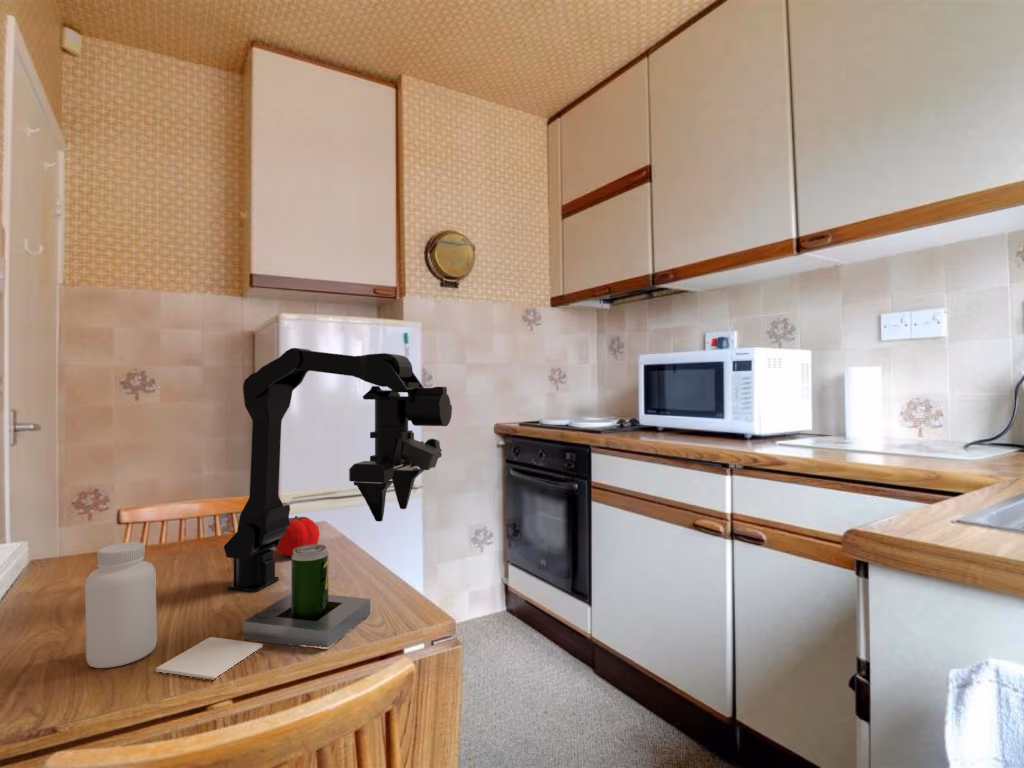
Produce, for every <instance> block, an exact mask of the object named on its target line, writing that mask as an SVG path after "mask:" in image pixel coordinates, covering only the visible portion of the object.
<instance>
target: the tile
mask: <svg viewBox="0 0 1024 768" xmlns="http://www.w3.org/2000/svg"><path fill="white" fill-rule="evenodd" d="M262 647H264V644H263V643H257V642H251V641H243V640H236V639H228V638H221V637H213V636H209V637H208V638H206V639H204V640H202V641H201V642H198V643H197V644H196V645H193V646H192V647H190V648H188V649H187V650H185V651H183V652H181V653H180V654H178V655H175V656H174V657H172V658H171V659H169V660H168V661H166V662H163V663H162V664H160V665H158V666H157V667H156V668H155V673H159V672H162V673H161V674H166V673H171V674H170V675H172V673H173V674H180V675H186V676H194V677H203V678H211V679H214V678H216V677H217V676H219V675H220V674H222V673H223V672H225V671H227V670H228V669H229V668H231V667H233V666H234V665H235V664H237V663H238V662H240V661H241V660H243V659H244V658H246V657H247V656H249V655H250V654H252V653H253V652H255V651H257V650H258V649H260V648H261V649H263V648H262ZM261 649H260V650H261ZM258 651H259V650H258ZM258 651H257V652H258ZM255 653H256V652H255ZM252 655H253V654H252ZM249 657H250V656H249ZM233 668H234V667H233ZM227 672H228V671H227Z"/></svg>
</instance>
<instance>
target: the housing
mask: <svg viewBox="0 0 1024 768" xmlns="http://www.w3.org/2000/svg"><path fill="white" fill-rule="evenodd" d="M369 615H370V616H371V598H365V597H364V598H363V597H355V596H345V595H344V596H343V595H336V594H335V595H334V594H328V614H326V615H325V616H324V617H322V618H321V619H319V620H318V621H308V620H299V619H292V613H291V593H289V594H288V595H286V596H285V597H283V598H281V599H280V600H278V601H276V602H274V603H272V604H271V605H269V606H267V607H266V608H264V609H263V610H261V611H259V612H257V613H255V614H254V615H252V616H250V617H249V618H247V619H245V620H244V621H243V640H248V641H254V640H257V641H256V642H264V643H271V644H278V643H279V645H285V644H292V645H291V646H293V645H306V646H317V647H319V646H321V647H329V646H331V645H332V644H333V643H335V642H336V641H338V640H339V639H340V638H341V637H343V636H344V635H345V634H346V633H348V632H349V631H350V630H351V629H353V628H354V627H355V626H356V627H358V626H359V625H360V624H361V623H362V622H361V621H363V620H364V619H365V618H366V619H367V618H369V617H370V616H369ZM368 616H369V617H368ZM366 619H365V620H366ZM365 620H364V621H365ZM364 621H363V622H364ZM360 622H361V623H360ZM359 623H360V624H359ZM358 624H359V625H358ZM357 625H358V626H357ZM356 627H355V628H356ZM355 628H354V629H355ZM354 629H353V630H354ZM350 632H351V631H350ZM350 632H349V633H350ZM349 633H348V634H349ZM344 637H345V636H344ZM344 637H343V638H344ZM338 642H339V641H338Z"/></svg>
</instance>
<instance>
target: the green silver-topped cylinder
mask: <svg viewBox="0 0 1024 768" xmlns="http://www.w3.org/2000/svg"><path fill="white" fill-rule="evenodd" d="M327 549H328V547H327V545H324V544H318V543H317V544H311V545H304V546H300V547H297V548H295V549H294V550H293V555H292V557H291V556H290V558H291V560H290V561H291V562H290V563H291V564H290V565H291V570H290V571H291V572H290V573H291V583H290V584H291V585H290V586H291V591H290V592H291V593H290V594H291V613H292V619H299V620H308V621H318V620H319V619H321V618H322V617H324V616H325V615H326V614H328V595H329V552H328V550H327Z"/></svg>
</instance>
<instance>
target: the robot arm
mask: <svg viewBox="0 0 1024 768" xmlns="http://www.w3.org/2000/svg"><path fill="white" fill-rule="evenodd" d="M309 371H310V372H318V373H326V374H333V375H341V376H348V377H355V378H357V379H359V380H362V381H364V382H366V383H370V384H372V385H373V386H371V387H370V389H369V390H368V391H367V392H366V393H365V394H363V396H362V399H363V400H370V401H371V400H374V431H370V432H369V438H370V439H374V455H370V456H369V460H362V461H360V462H356V463H353V464H352V465H351V467H350V468H349V469H348V480H349V482H353V485H354V486H356V487H357V488H358V490H359V492H360V493H361V495H362V497H363V499H364V501H365V502H366V504H367V506H368V508H369V510H370V512H371V514H372V516H373V519H374V521H376V522H382V521H383V520H384V514H385V505H386V498H387V490H388V489H389V488H390V486H392V485H393V489H394V492H395V493H394V494H395V496H396V500H397V503H398V505H399V509H400V510H406V509H407V507H408V504H409V500H410V497H411V494H412V490H413V488H414V487H413V486H414V484H415V480H416V478H417V477H419V476H420V475H421V474H422V473H424V471H429V470H431V469H435V468H436V466H437V463H438V460H439V459H440V458H441V457H442V455H443V454H442V448H441V445H440V440H438V439H435V438H429V439H427V440H426V441H425V442H424V440H422V441H419V440H416V439H415V432H413V430H410V429H409V422H411V424H412V425H413V426H415V427H447V426H449V424H450V422H451V420H452V419H451V418H452V413H453V412H452V411H453V406H452V404H451V399H450V397H449V394H448V388H447V386H434V387H424V386H423V385H422V383H421V381H420V380H419V379H418V377H417V375H415V373H414V372H413V366H412V363H411V361H410V360H409V358H408V357H406V356H405V355H401V354H395V353H394V354H392V353H386V352H382V353H368V354H362V355H348V354H341V353H339V354H338V353H329V352H324V351H314V350H311V349H308V348H299V347H291V348H289V349H288V350H286V351H284V352H283V353H282V354H281V355H280V356H279V357H277V358H276V359H273V360H272V361H270V362H269V363H267V364H265V365H263V366H262V367H261V368H259V369H258V370H257V371H256V372H253V373H250V375H248V377H246V378H245V379H244V380H243V384H242V392H243V402H244V403H243V404H244V408H245V409H246V411H247V412H248V415H249V416H250V419H251V420H252V423H251V424H252V425H251V426H252V427H251V448H250V449H251V451H250V452H251V453H250V454H251V455H250V475H249V494H248V495H249V496H248V499H247V501H246V503H245V505H244V507H243V508H242V510H241V511H240V514H239V519H238V524H237V530H236V533H234V534H233V536H232V537H231V538H230V539H229V540H228V541H227V542H226V543H225V544H224V546H223V549H224V553H225V556H226V558H230V559H233V582H232V583H229V584H228V585H226V589H228V590H237V591H245V592H246V591H248V592H258V591H260V590H262V589H264V588H265V587H268V586H270V585H271V584H273V583H276V582H278V580H280V578H279V576H276V559H275V558H274V550H273V548H275V547H277V546H279V543H280V540H281V537H282V536H283V535H284V534H285V533H286V530H287V526H290V522H289V518H290V511H291V506H290V504H284V503H283V502H282V500H281V498H280V496H279V483H280V464H281V463H280V460H281V439H282V438H281V436H282V421H283V418H284V417H285V414H286V413H287V411H288V409H290V405H291V402H292V396H293V391H294V390H295V389H296V388H298V386H300V385H301V384H302V383H303V381H304V379H305V377H306V375H307V373H309ZM374 385H375V386H374ZM381 387H385V388H388V389H387V390H385V389H382V388H381ZM389 389H390V390H389ZM400 393H407V396H405V395H404V396H403V395H401V394H400Z"/></svg>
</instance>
